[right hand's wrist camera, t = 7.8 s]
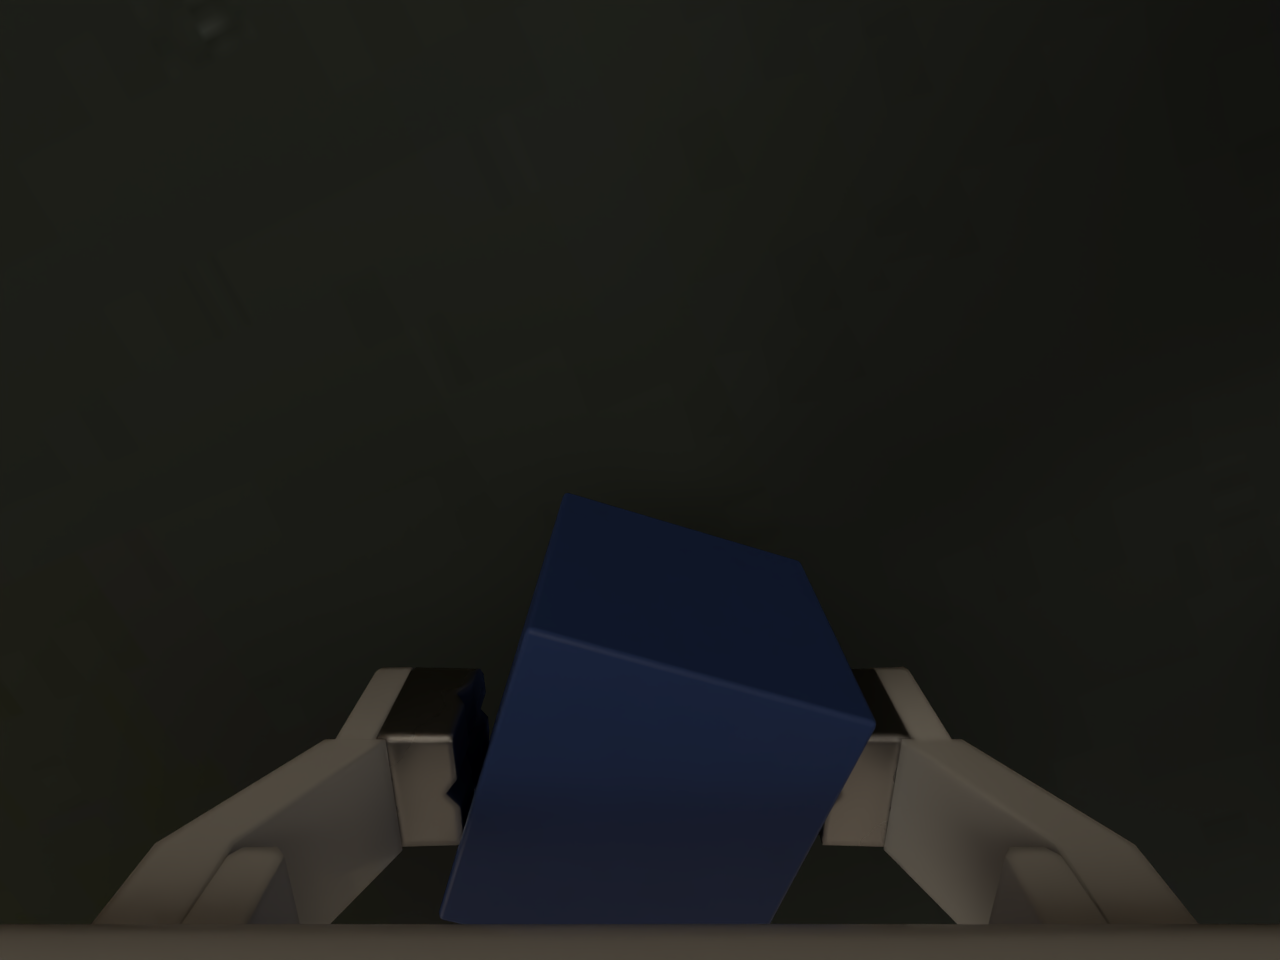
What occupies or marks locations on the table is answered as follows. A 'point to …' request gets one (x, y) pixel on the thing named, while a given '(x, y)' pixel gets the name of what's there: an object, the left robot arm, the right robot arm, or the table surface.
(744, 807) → the block
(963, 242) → the table surface
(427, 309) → the table surface
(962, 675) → the table surface
